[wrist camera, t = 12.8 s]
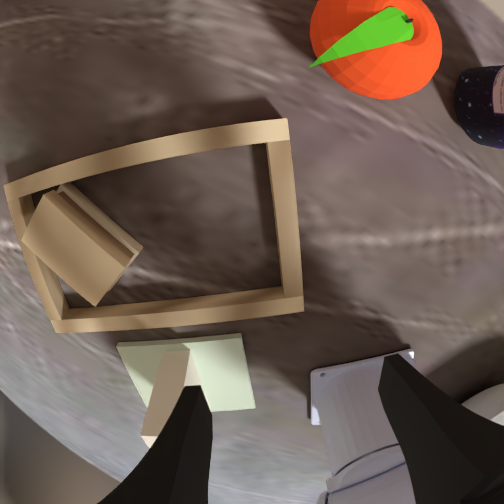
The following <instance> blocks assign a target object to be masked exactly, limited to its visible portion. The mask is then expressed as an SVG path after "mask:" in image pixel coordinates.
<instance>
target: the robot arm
mask: <svg viewBox="0 0 504 504" xmlns="http://www.w3.org/2000/svg"><path fill="white" fill-rule="evenodd" d="M413 357H414V351H413V350H412V349H407V350H403V351H399V352H395V353H391V354H387V355H383V356H379V357H374V358H370V359H365V360H361V361H356V362H351V363H346V364H341V365H336V366H331V367H325V368H319V369H315V370H313V371H312V372H311V374H310V377H311V424H313V425H319V424H321V428H322V432H323V436H324V441H325V445H326V450H327V454H328V459H329V463H330V468H331V472H332V478H329V479H327V480H326V484H327V489H328V491H325V492H323V493H322V494H321V495H320V496H319V499H318V501H317V503H316V504H504V426H503V425H500V424H498V423H495V422H493V421H491V420H489V419H487V418H485V417H482V416H480V415H478V414H476V413H475V412H473V411H471V410H469V409H468V408H466V407H464V406H463V405H461V404H460V403H458V402H456V401H455V400H454V399H452V398H451V397H449V396H448V395H447V394H445V393H444V392H443V391H441V390H440V389H439V388H438V387H436V386H435V385H434V384H433V383H432V382H430V381H429V380H428V379H427V378H426V377H424V376H423V375H422V373H421V371H420V370H419V368H418V366H417V365H416V363H415V362H414V360H413ZM321 373H323V374H321ZM212 439H213V432H212V414H211V411H210V409H209V406H208V403H207V401H206V398H205V396H204V393H203V390H202V388H201V385H193V386H185V387H184V388H183V390H182V392H181V394H180V397H179V399H178V401H177V403H176V405H175V407H174V409H173V411H172V413H171V415H170V416H169V418H168V420H167V422H166V423H165V425H164V427H163V429H162V430H161V432H160V434H159V435H158V437H157V438H156V440H155V441H154V443H153V445H152V446H151V448H150V449H149V450H148V452H147V453H146V455H145V456H144V457H143V459H142V460H141V461H140V462H139V464H138V465H137V466H136V467H135V468H134V470H133V471H132V472H131V473H130V474H129V475H128V476H127V477H126V478H125V479H124V480H123V482H122V483H121V484H120V485H118V486H117V488H115V489H114V490H113V491H112V492H111V493H110V494H109V495H107V496H106V497H105V498H104V499H103V500H101V501H100V502H99V503H97V504H208V479H209V469H210V459H211V449H212Z"/></svg>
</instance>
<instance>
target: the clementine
mask: <svg viewBox="0 0 504 504" xmlns="http://www.w3.org/2000/svg"><path fill="white" fill-rule="evenodd" d="M310 39H311V43H312V47H313V51H314V53H315V55H316V57H317V60H316V61H315V62H314V63H313V64H312V65H311V66H310V67H312V66H315V65H318V64H321V66H322V67H323V68H324V69H325V70H326V72H327V73H328V74H329V75H330V76H331V78H333V79H334V80H335V81H337V82H338V83H339V84H341V85H342V86H343V87H344V88H346V89H348V90H351V91H353V92H355V93H357V94H359V95H363V96H367V97H372V98H377V99H397V98H400V97H403V96H406V95H409V94H412V93H414V92H417V91H418V90H420V89H421V88H422V87H424V86H425V85H426V84H427V83H428V82H429V81H430V79H431V78H432V76H433V75H434V73H435V72H436V70H437V69H438V67H439V64H440V60H441V57H442V40H441V35H440V31H439V27H438V24H437V22H436V20H435V18H434V16H433V14H432V13H431V11H430V10H429V9H428V7H427V6H426V5H425V3H424V2H423V1H421V0H319V1H318V2H317V4H316V6H315V9H314V11H313V14H312V17H311V21H310Z"/></svg>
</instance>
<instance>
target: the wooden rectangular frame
mask: <svg viewBox="0 0 504 504" xmlns="http://www.w3.org/2000/svg"><path fill="white" fill-rule="evenodd" d="M257 143H266V150H267V158H268V166H269V175H270V183H271V191H272V200H273V208H274V217H275V226H276V235H277V244H278V254H279V263H280V273H281V283H282V286H279V287H272V288H264V289H257V290H249V291H241V292H233V293H225V294H217V295H208V296H200V297H191V298H182V299H172V300H163V301H153V302H143V303H132V304H121V305H110V306H98V307H86V308H73V309H70V308H69V305H68V303H67V301H66V298H65V296H64V293H63V291H62V288H61V286H60V283H59V281H58V278H57V275H56V273H55V272H54V271H53V270H51V269H50V268H49V267H48V266H47V265H46V264H45V263H44V262H43V261H42V260H41V259H40V258H38V257H37V256H36V255H35V254H34V253H33V252H32V251H31V250H30V249H29V248H28V247H27V246H26V245H25V244H24V243H23V242H22V241H21V240H22V237H23V235H24V233H25V231H26V229H27V226H28V224H29V222H30V220H31V218H32V216H33V214H34V212H35V207H34V203H33V199H32V195H31V193H34V192H37V191H41V190H44V189H47V188H50V187H53V186H57V185H60V184H63V183H67V182H70V181H74V180H77V179H81V178H84V177H88V176H92V175H96V174H99V173H103V172H107V171H111V170H115V169H119V168H124V167H128V166H132V165H137V164H141V163H146V162H150V161H155V160H160V159H165V158H170V157H175V156H180V155H186V154H191V153H197V152H203V151H209V150H215V149H221V148H228V147H235V146H242V145H249V144H257ZM4 190H5V194H6V198H7V202H8V206H9V210H10V213H11V217H12V220H13V224H14V227H15V230H16V234H17V237H18V240H19V243H20V246H21V249H22V252H23V255H24V258H25V260H26V263H27V266H28V269H29V271H30V274H31V276H32V279H33V282H34V284H35V286H36V289H37V291H38V294H39V296H40V298H41V301H42V303H43V305H44V308H45V310H46V312H47V314H48V316H49V318H50V321H51V323H52V325H53V327H54V329H55V331H56V333H70V332H98V331H118V330H135V329H150V328H163V327H175V326H186V325H197V324H207V323H217V322H226V321H235V320H243V319H251V318H259V317H267V316H274V315H282V314H289V313H296V312H302V311H304V298H303V282H302V267H301V253H300V240H299V228H298V216H297V205H296V194H295V184H294V174H293V164H292V155H291V146H290V138H289V129H288V121H287V118H284V119H274V120H264V121H256V122H248V123H240V124H233V125H226V126H220V127H214V128H207V129H202V130H196V131H190V132H185V133H180V134H175V135H170V136H165V137H160V138H156V139H151V140H147V141H143V142H138V143H134V144H130V145H126V146H122V147H118V148H115V149H111V150H107V151H103V152H100V153H96V154H93V155H89V156H86V157H83V158H79V159H76V160H73V161H70V162H67V163H63V164H60V165H57V166H54V167H51V168H49V169H46V170H43V171H40V172H37V173H34V174H32V175H29V176H26V177H24V178H21V179H18V180H16V181H13V182H11V183H8V184H6V185H4Z"/></svg>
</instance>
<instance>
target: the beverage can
mask: <svg viewBox="0 0 504 504" xmlns="http://www.w3.org/2000/svg"><path fill="white" fill-rule="evenodd" d="M454 100H455V109H456V113H457V117H458V119H459V122H460V124H461V126H462V128H463V130H464V131H465V133H466V134H467V135H468V136H469V137H470V138H471V139H472V140H473V141H474V142H476V143H478V144H481V145H486V146H490V147H494V148H499V149H503V150H504V65H502V66H488V67H478V68H470V69H467V70H466V71H464V72H463V73H462V74H461V75H460V77H459V79H458V81H457V83H456V87H455V95H454Z"/></svg>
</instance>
